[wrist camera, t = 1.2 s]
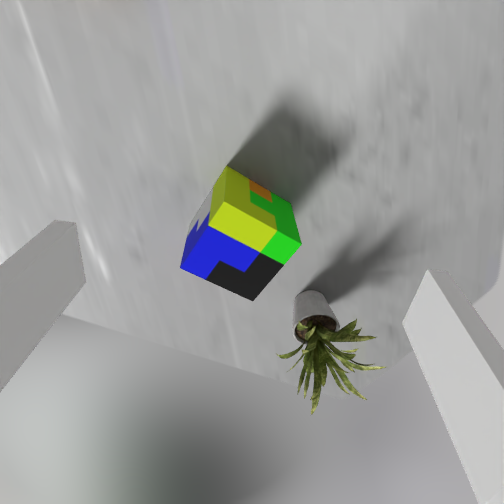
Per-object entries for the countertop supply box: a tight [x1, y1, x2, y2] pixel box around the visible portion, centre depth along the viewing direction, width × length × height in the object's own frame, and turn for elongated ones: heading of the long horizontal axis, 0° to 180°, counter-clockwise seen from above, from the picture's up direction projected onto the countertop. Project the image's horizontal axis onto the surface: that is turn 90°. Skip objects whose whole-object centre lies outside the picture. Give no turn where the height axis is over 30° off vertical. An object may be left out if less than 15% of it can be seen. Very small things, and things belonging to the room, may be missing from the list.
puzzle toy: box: [180, 166, 302, 301], centre depth 44 cm, size 10×10×10 cm
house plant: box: [278, 290, 385, 414], centre depth 51 cm, size 14×14×16 cm
